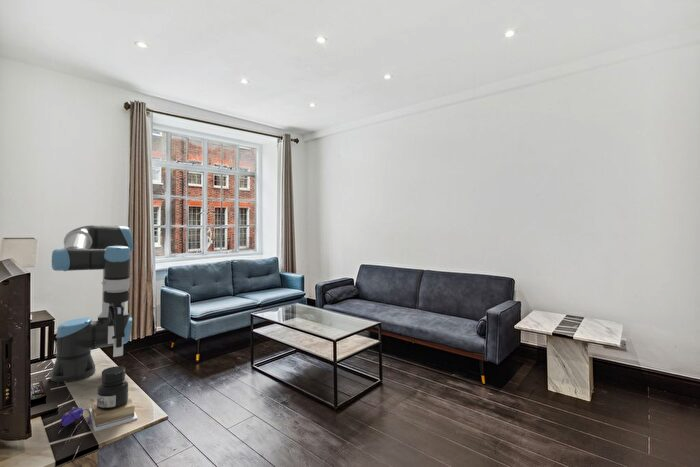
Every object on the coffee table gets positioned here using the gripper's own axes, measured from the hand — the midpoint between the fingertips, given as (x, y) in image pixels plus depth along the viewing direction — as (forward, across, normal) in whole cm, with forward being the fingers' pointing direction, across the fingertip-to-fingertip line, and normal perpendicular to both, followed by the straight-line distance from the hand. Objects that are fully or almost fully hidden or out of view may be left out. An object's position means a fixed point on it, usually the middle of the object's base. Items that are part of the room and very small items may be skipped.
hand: (115, 349), depth 124 cm
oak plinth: (+22, +4, -1) cm, 22 cm away
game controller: (+22, +4, -11) cm, 25 cm away
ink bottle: (+18, +4, -1) cm, 19 cm away
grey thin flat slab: (+22, +4, -1) cm, 22 cm away
